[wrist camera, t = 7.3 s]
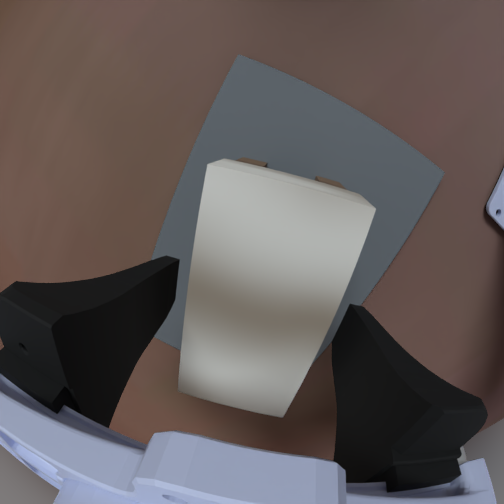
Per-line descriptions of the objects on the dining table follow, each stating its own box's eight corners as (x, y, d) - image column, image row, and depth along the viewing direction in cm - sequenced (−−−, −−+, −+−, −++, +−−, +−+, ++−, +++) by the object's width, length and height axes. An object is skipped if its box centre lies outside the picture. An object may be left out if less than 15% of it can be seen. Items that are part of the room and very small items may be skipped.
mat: (240, 57, 12) (238, 54, 12) (439, 171, 13) (444, 172, 12) (135, 320, 19) (132, 324, 19) (284, 388, 20) (283, 394, 19)
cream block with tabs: (287, 339, 17) (282, 417, 12) (209, 319, 17) (177, 391, 12) (342, 178, 13) (375, 208, 8) (242, 152, 13) (207, 163, 8)
